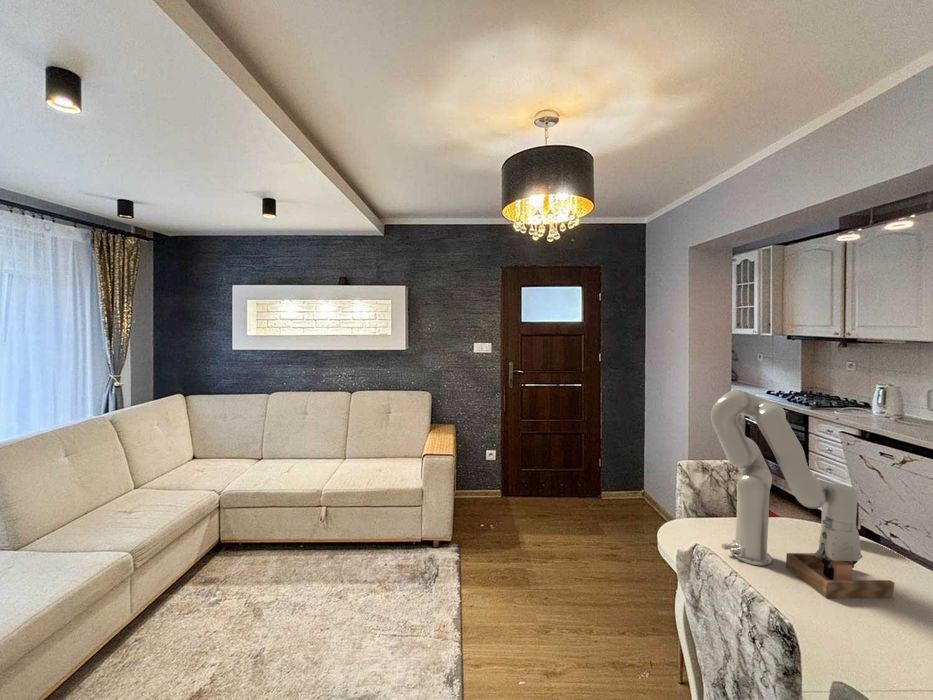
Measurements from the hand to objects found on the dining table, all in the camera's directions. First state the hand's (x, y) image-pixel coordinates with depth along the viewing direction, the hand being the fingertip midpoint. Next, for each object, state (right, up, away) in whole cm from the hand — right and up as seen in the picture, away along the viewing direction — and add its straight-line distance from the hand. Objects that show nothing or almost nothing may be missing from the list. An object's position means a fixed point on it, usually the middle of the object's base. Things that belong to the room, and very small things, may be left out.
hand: (837, 577), depth 138 cm
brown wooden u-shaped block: (0, -2, 0) cm, 2 cm away
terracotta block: (0, -2, 0) cm, 2 cm away
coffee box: (+24, 0, +27) cm, 36 cm away
